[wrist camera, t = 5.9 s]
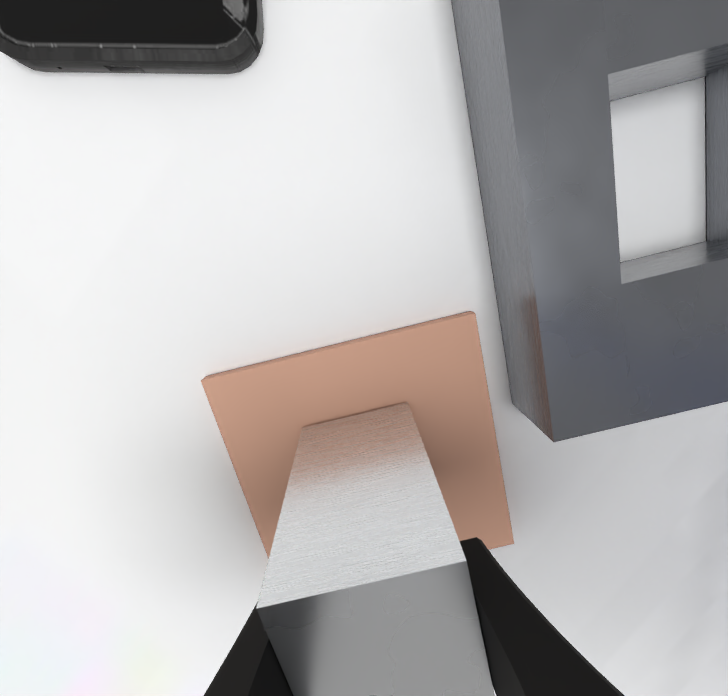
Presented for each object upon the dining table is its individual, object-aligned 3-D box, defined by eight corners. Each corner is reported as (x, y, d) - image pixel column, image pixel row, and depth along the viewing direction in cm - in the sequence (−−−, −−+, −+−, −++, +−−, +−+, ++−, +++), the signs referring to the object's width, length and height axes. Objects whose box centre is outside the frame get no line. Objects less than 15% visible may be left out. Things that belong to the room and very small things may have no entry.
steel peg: (428, 492, 15) (497, 706, 8) (330, 515, 15) (314, 745, 8) (407, 401, 13) (466, 560, 7) (302, 427, 14) (256, 608, 7)
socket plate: (770, 342, 14) (879, 365, 11) (512, 404, 14) (553, 442, 11) (788, -119, 11) (954, -259, 8) (447, -25, 11) (482, -127, 8)
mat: (509, 534, 16) (514, 543, 15) (285, 586, 16) (282, 596, 16) (470, 311, 13) (475, 313, 13) (206, 376, 14) (200, 380, 13)
